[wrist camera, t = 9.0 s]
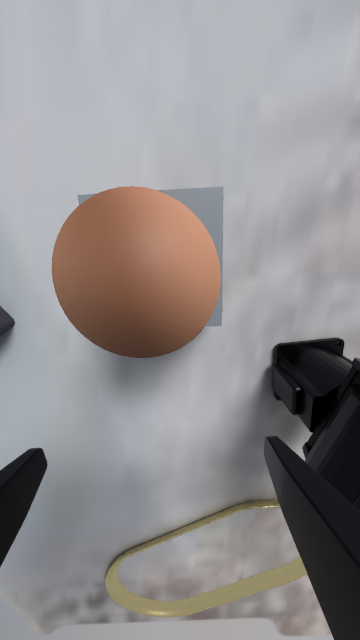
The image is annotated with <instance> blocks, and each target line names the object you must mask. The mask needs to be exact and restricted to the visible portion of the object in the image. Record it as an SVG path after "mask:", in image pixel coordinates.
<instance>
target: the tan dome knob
mask: <svg viewBox="0 0 360 640" xmlns="http://www.w3.org/2000/svg"><path fill="white" fill-rule="evenodd" d="M52 276H53V283H54V288H55V292H56V295H57V298H58V300H59V303H60V305H61V307H62V309H63V311H64V313H65V314H66V316H67V317H68V319H69V320H70V322H71V323H72V324H73V325H74V326H75V328H76V329H77V330H78V331H79V332H80V333H81V334H82V335H84V336H85V337H86V338H87V339H89V340H90V341H91V342H93V343H94V344H96V345H98V346H99V347H101V348H103V349H105V350H107V351H110V352H112V353H115V354H118V355H122V356H127V357H136V358H147V357H155V356H161V355H164V354H167V353H170V352H173V351H175V350H177V349H179V348H181V347H182V346H184V345H186V344H187V343H188V342H190V341H191V340H192V339H194V338H195V337H196V336H197V335H198V334H199V333H200V332H201V330H202V329H203V328H204V327H205V325H206V324H207V322H208V321H209V319H210V317H211V316H212V314H213V311H214V309H215V307H216V304H217V300H218V296H219V291H220V282H221V272H220V264H219V259H218V255H217V251H216V248H215V245H214V243H213V240H212V238H211V236H210V235H209V233H208V231H207V229H206V228H205V226H204V225H203V224H202V222H201V221H200V220H199V218H198V217H197V216H196V215H195V214H194V213H193V212H192V211H191V210H190V209H189V208H187V207H186V206H185V205H184V204H182V203H181V202H180V201H178V200H176V199H174V198H173V197H171V196H169V195H167V194H164V193H162V192H159V191H157V190H153V189H149V188H144V187H133V186H132V187H118V188H114V189H109V190H106V191H103V192H101V193H98V194H96V195H94V196H92V197H91V198H89V199H87V200H86V201H84V202H83V203H82V204H81V205H79V206H78V207H77V208H76V209H75V210H74V211H73V212H72V213H71V214H70V216H69V217H68V218H67V220H66V221H65V223H64V224H63V226H62V228H61V230H60V232H59V234H58V236H57V239H56V243H55V246H54V251H53V257H52Z"/></svg>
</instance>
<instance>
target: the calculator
mask: <svg viewBox="0 0 360 640" xmlns="http://www.w3.org/2000/svg"><path fill="white" fill-rule="evenodd" d="M14 324H15V321H14V319H13V318H12V317H11V316H10V315H9V314H8V313H7V312H6V311H5V310H4V309H3V308H2V307H1V306H0V336H1V335H3V334H4V333H5V332H6V331H7V330H9V329H10V328H11V327H12V326H13V325H14Z"/></svg>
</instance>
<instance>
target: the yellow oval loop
mask: <svg viewBox="0 0 360 640" xmlns="http://www.w3.org/2000/svg"><path fill="white" fill-rule="evenodd" d="M263 507H278V508H281V507H280V504H279V501H253V502H247V503H242V504H239V505H236V506H233V507H230V508H228V509H226V510H223V511H221V512H218V513H216V514H213V515H211V516H209V517H206V518H204V519H201V520H199V521H197V522H194V523H192V524H189V525H187V526H184V527H182V528H180V529H177V530H175V531H172V532H170V533H168V534H165V535H163V536H160V537H158V538H155V539H153V540H151V541H148V542H146V543H143V544H141V545H139V546H136V547H134V548H132V549H130V550H128V551H126V552H125V553H123V554H122V555H121V556H119V557H118V558H117V559H116V560H115V561H114V563H113V564H112V565H111V567H110V568H109V570H108V572H107V575H106V580H105V584H106V589H107V591H108V593H109V595H110V596H111V597H112V599H113V600H114V601H116V602H117V603H118V604H119V605H121V606H123V607H124V608H126V609H128V610H131V611H133V612H136V613H139V614H143V615H148V616H154V617H180V616H186V615H191V614H195V613H198V612H201V611H204V610H207V609H210V608H213V607H216V606H219V605H222V604H225V603H228V602H231V601H234V600H237V599H240V598H243V597H246V596H249V595H252V594H255V593H258V592H261V591H264V590H267V589H271V588H274V587H277V586H280V585H283V584H286V583H289V582H291V581H294V580H296V579H299V578H301V577H302V576H304V575H306V574H307V572H306V569H305V567H304V564H303V562H302V559H301V557H298V558H297V559H296V560H294V561H292V562H291V563H289V564H287V565H284V566H282V567H279V568H276V569H273V570H270V571H267V572H264V573H261V574H258V575H256V576H253V577H250V578H247V579H244V580H241V581H238V582H235V583H232V584H229V585H227V586H224V587H221V588H218V589H215V590H212V591H209V592H206V593H203V594H200V595H198V596H195V597H192V598H188V599H184V600H179V601H156V600H150V599H146V598H143V597H140V596H137V595H135V594H133V593H132V592H130V591H129V590H127V589H126V588H125V587H124V586H123V585H122V584H121V582H120V581H119V578H118V573H117V572H118V567H119V564H120V563H121V561H122V560H123V559H124V558H126V557H128V556H131V555H133V554H135V553H138V552H140V551H143V550H145V549H148V548H150V547H153V546H155V545H158V544H160V543H162V542H165V541H167V540H170V539H172V538H175V537H177V536H180V535H182V534H185V533H187V532H189V531H192V530H194V529H197V528H199V527H202V526H204V525H207V524H209V523H212V522H214V521H216V520H219V519H221V518H224V517H226V516H229V515H231V514H234V513H237V512H240V511H244V510H248V509H254V508H263Z"/></svg>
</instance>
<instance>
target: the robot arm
mask: <svg viewBox="0 0 360 640" xmlns="http://www.w3.org/2000/svg"><path fill="white" fill-rule="evenodd" d="M337 342H338V344H337ZM282 347H283V348H282ZM280 348H282V350H279V349H280ZM343 349H344V341H343V340H342V339H340V338H328V339H318V340H309V341H299V342H289V343H280V344H278V345H276V347H275V364H274V365H273V366H272V387H273V388H274V397H275V398H276V400H282V401H283V402H284V404H285V405H286V407H287V408H288V410H289V411H290V412H291V413H292V414H293V415H298V416H299V417H300V419H301V420H302V421H303V423H304V424H305V425H306V427H307V428H308V429H309V431H310V432H311V433H313V434H312V435H311V437H310V439H309V440H308V442H306V443H305V444H304V446H303V452H304V455H305V461H304V460H303V459H302V458H300V457H299V456H298V455H297V454H296V453H295V452H294V451H293V450H292V449H290V448H289V447H288V446H287V445H286V444H285V443H284V442H283V441H282V440H280V439H279V438H278V437H277V436H267V437H266V438H265V448H264V455H265V459H266V463H267V466H268V469H269V472H270V476H271V479H272V482H273V485H274V489H275V492H276V495H277V498H278V501H279V504H280V507H281V510H282V512H283V515H284V517H285V520H286V522H287V525H288V527H289V530H290V532H291V535H292V537H293V540H294V542H295V545H296V547H297V549H298V552H299V554H300V557H301V559H302V562H303V564H304V567H305V569H306V572H307V574H308V577H309V579H310V581H311V584H312V586H313V589H314V591H315V594H316V596H317V599H318V601H319V604H320V606H321V608H322V611H323V613H324V616H325V618H326V621H327V623H328V626H329V628H330V631H331V633H332V636H333V638H334V640H360V359H359V358H354V360H353V361H351V360H349V359H348V358H346V357H344V356H343ZM278 395H279V396H278ZM46 469H47V460H46V457H45V454H44V451H43V449H42V448H31V449H29V450H28V451H26V452H25V453H23V454H22V455H21V456H19V457H18V458H17V459H15V460H14V461H13V462H11V463H10V464H8V465H7V466H6V467H4V468H3V469H2V470H0V567H1V565H2V563H3V561H4V559H5V557H6V555H7V553H8V551H9V549H10V547H11V545H12V543H13V541H14V540H15V538H16V536H17V534H18V532H19V530H20V528H21V526H22V524H23V522H24V520H25V518H26V516H27V513H28V511H29V509H30V507H31V504H32V502H33V500H34V497H35V495H36V493H37V490H38V488H39V486H40V483H41V481H42V478H43V476H44V474H45V471H46Z"/></svg>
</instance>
